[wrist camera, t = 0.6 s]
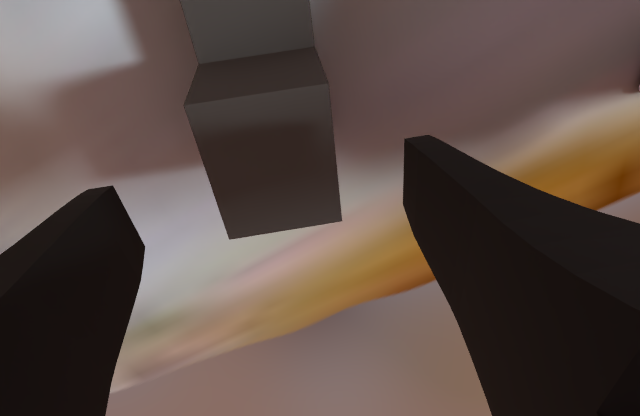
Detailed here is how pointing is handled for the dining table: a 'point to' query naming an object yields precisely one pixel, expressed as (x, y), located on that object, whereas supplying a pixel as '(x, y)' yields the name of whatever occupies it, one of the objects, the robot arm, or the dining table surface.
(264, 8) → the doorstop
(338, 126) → the dining table surface
